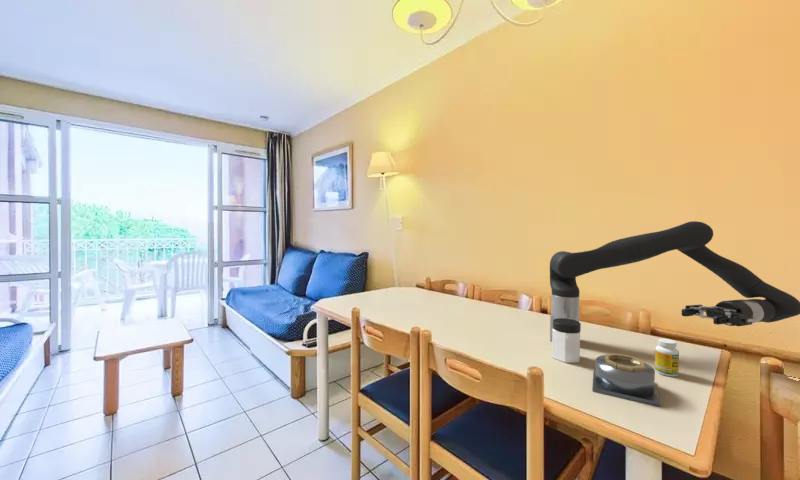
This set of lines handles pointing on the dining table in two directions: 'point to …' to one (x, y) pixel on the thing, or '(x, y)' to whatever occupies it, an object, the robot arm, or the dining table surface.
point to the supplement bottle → (667, 358)
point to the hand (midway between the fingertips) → (698, 316)
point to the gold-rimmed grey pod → (625, 378)
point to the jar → (566, 340)
